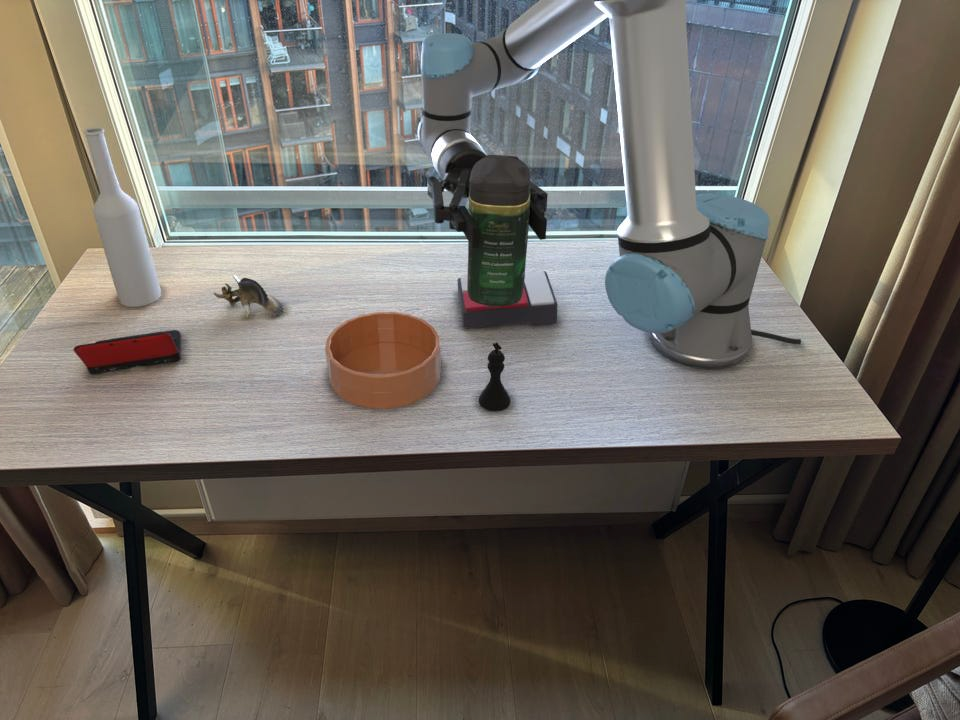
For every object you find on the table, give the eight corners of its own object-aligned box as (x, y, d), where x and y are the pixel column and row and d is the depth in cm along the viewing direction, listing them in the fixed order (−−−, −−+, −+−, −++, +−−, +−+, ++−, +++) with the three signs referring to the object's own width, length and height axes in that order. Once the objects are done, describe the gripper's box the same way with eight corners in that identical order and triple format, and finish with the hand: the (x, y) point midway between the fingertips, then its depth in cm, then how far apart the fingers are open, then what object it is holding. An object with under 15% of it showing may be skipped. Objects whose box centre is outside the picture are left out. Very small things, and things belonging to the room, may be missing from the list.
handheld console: (182, 334, 119) (171, 293, 114) (181, 375, 110) (169, 333, 106) (94, 346, 116) (79, 304, 111) (86, 390, 107) (70, 346, 103)
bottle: (168, 287, 129) (126, 123, 113) (149, 308, 124) (102, 139, 108) (131, 284, 130) (84, 120, 114) (111, 304, 125) (58, 136, 108)
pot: (453, 351, 116) (453, 320, 113) (421, 417, 104) (420, 385, 101) (354, 334, 119) (351, 304, 116) (311, 397, 107) (306, 366, 104)
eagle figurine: (215, 319, 120) (268, 315, 118) (211, 273, 120) (264, 268, 118) (239, 319, 127) (290, 315, 126) (235, 276, 127) (286, 271, 125)
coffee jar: (523, 311, 103) (531, 180, 92) (464, 308, 103) (465, 177, 92) (525, 275, 111) (533, 150, 100) (470, 272, 111) (472, 147, 100)
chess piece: (494, 387, 109) (497, 329, 104) (516, 402, 107) (520, 343, 101) (472, 400, 107) (473, 341, 101) (494, 416, 104) (496, 356, 98)
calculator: (456, 273, 128) (546, 266, 129) (458, 295, 130) (545, 288, 131) (462, 309, 119) (558, 301, 120) (463, 332, 122) (557, 324, 123)
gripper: (528, 182, 119) (584, 250, 101) (393, 195, 114) (428, 270, 96) (531, 134, 114) (590, 197, 97) (391, 146, 109) (427, 215, 92)
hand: (509, 233), depth 97 cm, fingers closed on coffee jar, 8 cm apart
